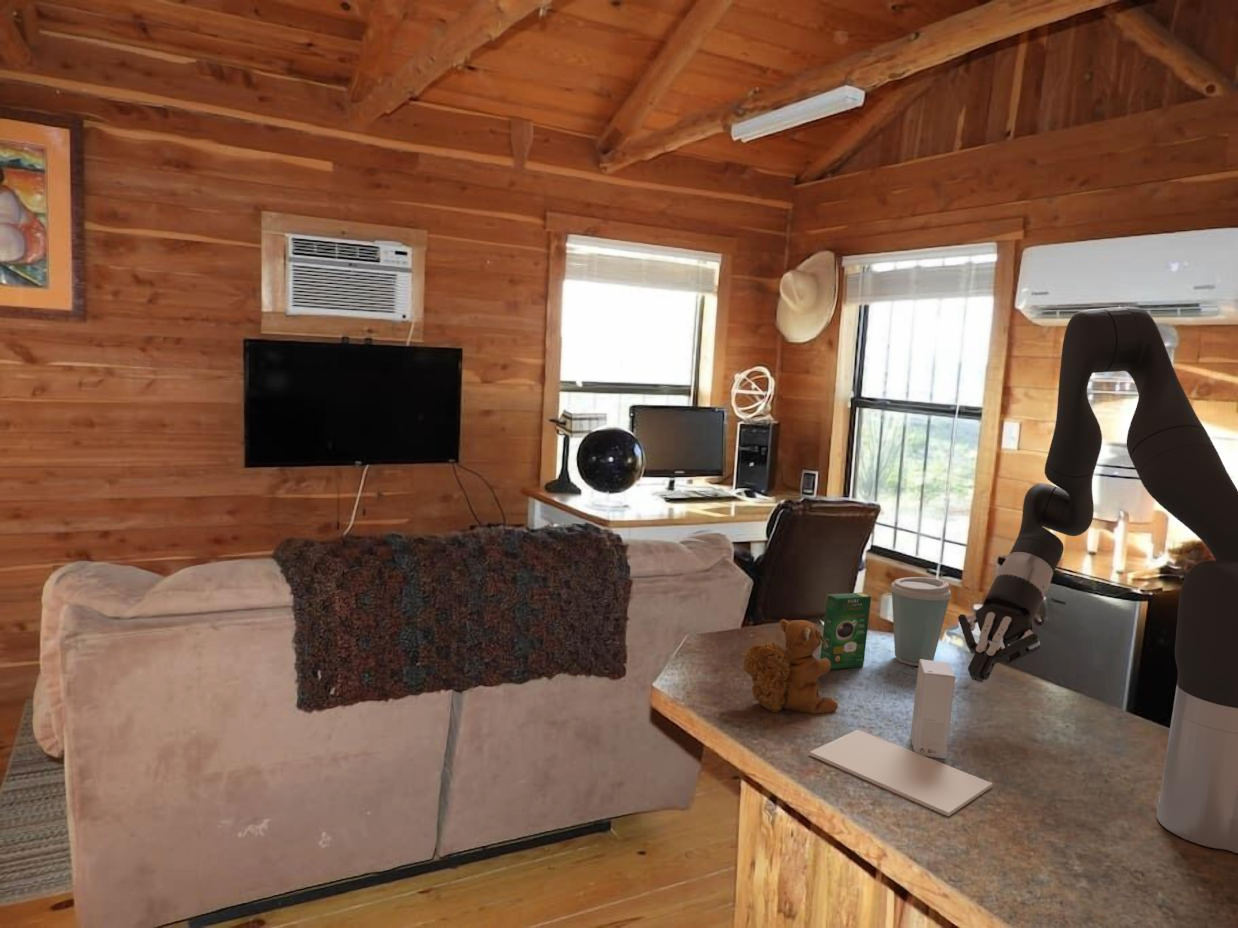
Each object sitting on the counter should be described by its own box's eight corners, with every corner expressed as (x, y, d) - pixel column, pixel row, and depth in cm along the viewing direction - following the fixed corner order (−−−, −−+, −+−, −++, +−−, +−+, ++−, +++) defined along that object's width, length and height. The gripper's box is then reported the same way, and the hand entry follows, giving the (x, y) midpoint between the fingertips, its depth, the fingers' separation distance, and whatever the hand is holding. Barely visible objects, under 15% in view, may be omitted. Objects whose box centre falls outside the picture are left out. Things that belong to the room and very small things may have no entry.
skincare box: (946, 759, 124) (956, 676, 122) (914, 755, 124) (923, 672, 123) (940, 741, 130) (949, 661, 128) (909, 737, 130) (918, 658, 129)
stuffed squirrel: (842, 711, 138) (850, 629, 136) (765, 722, 132) (773, 637, 131) (803, 687, 147) (811, 610, 145) (730, 697, 141) (736, 616, 140)
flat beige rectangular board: (992, 786, 116) (992, 783, 116) (948, 816, 108) (948, 812, 108) (857, 732, 131) (857, 729, 131) (809, 755, 122) (809, 751, 122)
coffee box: (854, 661, 161) (861, 590, 160) (865, 666, 159) (872, 594, 157) (818, 665, 158) (825, 593, 156) (828, 671, 155) (835, 598, 154)
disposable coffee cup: (891, 668, 158) (900, 586, 156) (876, 648, 169) (884, 570, 167) (952, 672, 158) (961, 590, 156) (932, 652, 169) (941, 574, 167)
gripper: (973, 564, 144) (927, 652, 138) (1058, 583, 135) (1014, 679, 128) (984, 591, 149) (940, 678, 142) (1067, 611, 139) (1025, 705, 132)
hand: (975, 678), depth 135 cm, fingers closed
